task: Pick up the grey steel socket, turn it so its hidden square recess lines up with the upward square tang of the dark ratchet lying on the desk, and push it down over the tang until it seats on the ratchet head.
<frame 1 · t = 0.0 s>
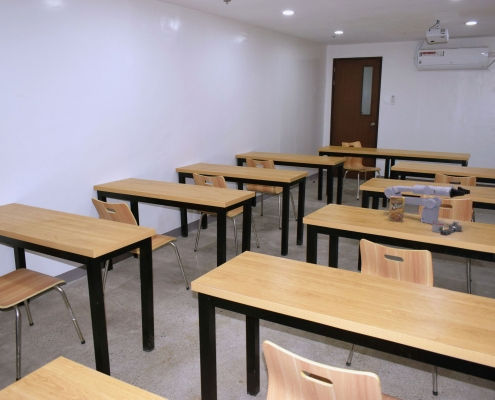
hand: (467, 192, 252), 22 cm above the table, tool horizontal, fingers open, 7 cm apart
candy box: (395, 220, 274), on the table
socket: (437, 230, 252), on the table
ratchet: (454, 230, 254), on the table
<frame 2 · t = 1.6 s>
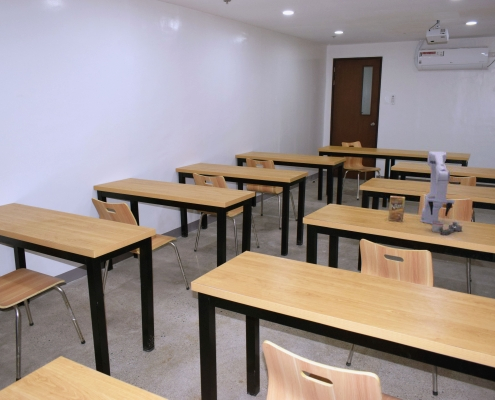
hand: (438, 215, 250), 9 cm above the table, tool pointing down, fingers open, 7 cm apart
nothing on the table moved.
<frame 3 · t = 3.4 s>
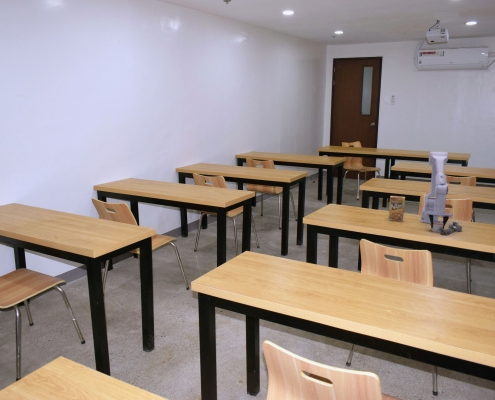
hand: (437, 228, 252), 2 cm above the table, tool pointing down, fingers closed on socket, 5 cm apart
socket: (437, 230, 252), on the table, touching gripper
everything else where it was.
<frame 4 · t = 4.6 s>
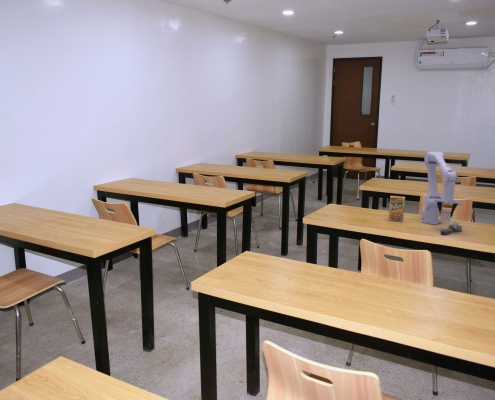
hand: (445, 215, 251), 9 cm above the table, tool pointing down, fingers closed on socket, 5 cm apart
socket: (445, 219, 251), point 7 cm above the table, touching gripper
everything else where it was.
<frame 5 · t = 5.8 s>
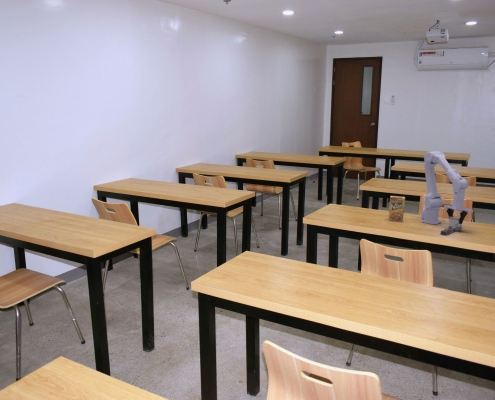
hand: (455, 222, 253), 4 cm above the table, tool pointing down, fingers closed on socket, 5 cm apart
socket: (455, 226, 254), point 2 cm above the table, touching gripper, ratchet
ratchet: (454, 230, 254), on the table, touching socket
everything else where it was.
when the fingers open (4 cm above the table, at t = 6.3 s): socket stays where it is, resting on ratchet.
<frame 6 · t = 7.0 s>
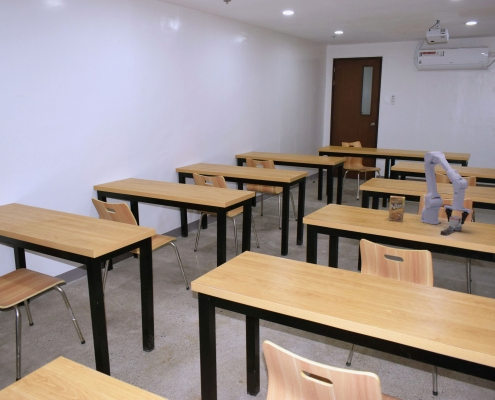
hand: (455, 222, 253), 4 cm above the table, tool pointing down, fingers open, 7 cm apart
socket: (455, 226, 254), point 2 cm above the table, touching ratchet
everything else where it was.
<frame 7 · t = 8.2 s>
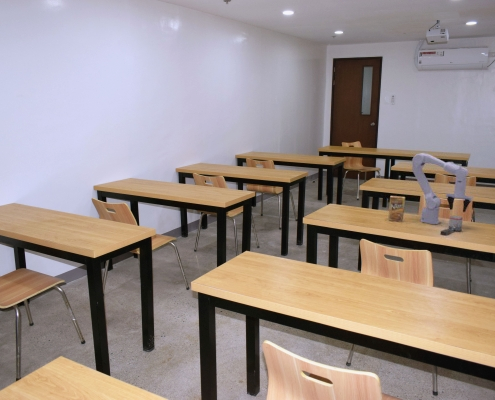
hand: (457, 210, 260), 10 cm above the table, tool pointing down, fingers open, 7 cm apart
nothing on the table moved.
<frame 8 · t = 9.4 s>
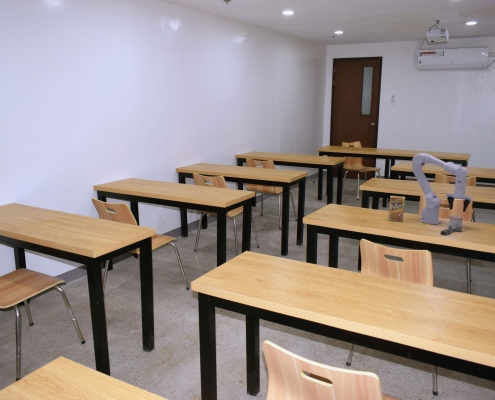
hand: (457, 210, 260), 10 cm above the table, tool pointing down, fingers open, 7 cm apart
nothing on the table moved.
at the end: socket 0.3 cm off-centre on the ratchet, point 2.5 cm above the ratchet's base; socket tilted 0°; the gripper is holding nothing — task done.
